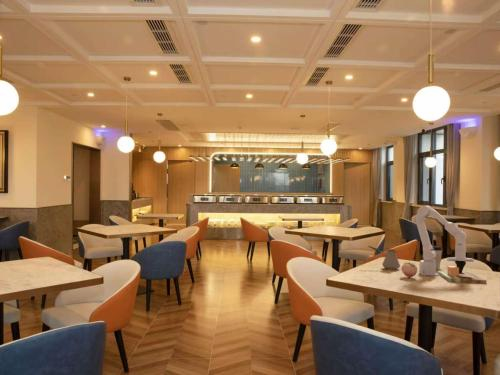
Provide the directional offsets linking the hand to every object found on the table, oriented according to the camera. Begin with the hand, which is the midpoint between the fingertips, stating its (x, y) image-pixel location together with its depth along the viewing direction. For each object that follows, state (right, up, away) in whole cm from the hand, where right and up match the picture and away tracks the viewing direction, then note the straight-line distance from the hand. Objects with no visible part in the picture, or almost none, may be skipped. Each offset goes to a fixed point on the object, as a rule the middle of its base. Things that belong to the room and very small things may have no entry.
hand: (460, 273), depth 244 cm
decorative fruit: (-31, -3, 0) cm, 31 cm away
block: (-4, -1, +1) cm, 4 cm away
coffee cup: (0, -4, +33) cm, 33 cm away
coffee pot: (-38, -3, +28) cm, 47 cm away
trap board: (0, -3, 0) cm, 3 cm away
